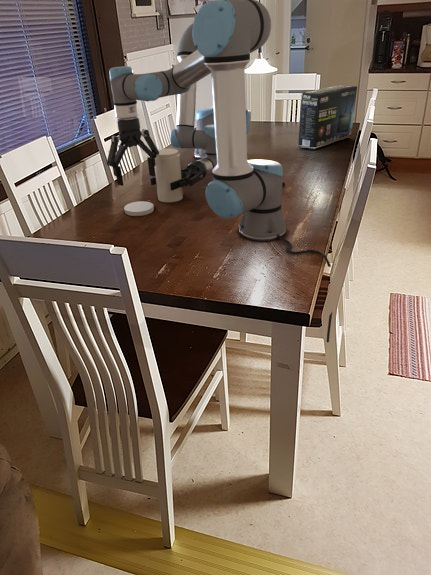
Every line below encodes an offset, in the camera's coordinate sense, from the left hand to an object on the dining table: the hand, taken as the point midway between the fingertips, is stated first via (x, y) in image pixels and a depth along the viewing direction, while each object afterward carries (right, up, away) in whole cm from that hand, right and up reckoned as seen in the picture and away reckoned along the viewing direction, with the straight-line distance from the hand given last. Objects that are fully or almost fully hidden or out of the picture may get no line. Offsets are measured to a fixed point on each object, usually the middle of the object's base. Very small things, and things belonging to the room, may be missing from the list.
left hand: (161, 184), depth 174 cm
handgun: (+44, +7, +21) cm, 49 cm away
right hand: (-7, -1, -11) cm, 13 cm away
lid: (-8, -10, -5) cm, 13 cm away
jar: (+3, -4, +6) cm, 8 cm away
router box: (+79, +38, +70) cm, 112 cm away
